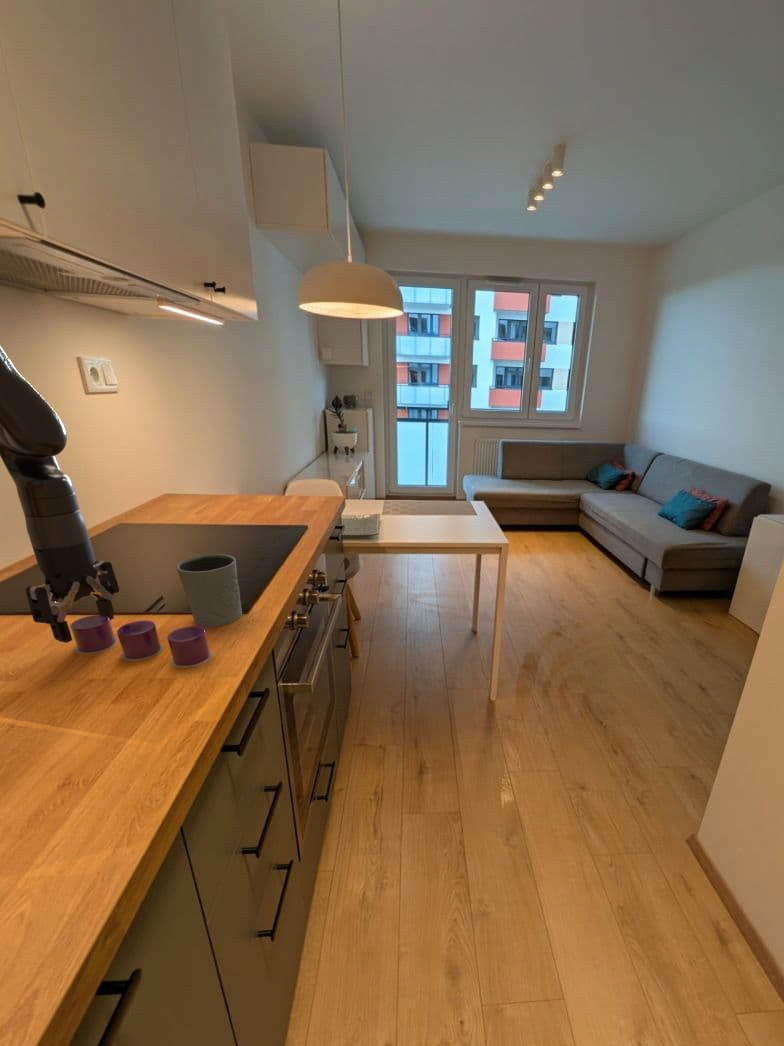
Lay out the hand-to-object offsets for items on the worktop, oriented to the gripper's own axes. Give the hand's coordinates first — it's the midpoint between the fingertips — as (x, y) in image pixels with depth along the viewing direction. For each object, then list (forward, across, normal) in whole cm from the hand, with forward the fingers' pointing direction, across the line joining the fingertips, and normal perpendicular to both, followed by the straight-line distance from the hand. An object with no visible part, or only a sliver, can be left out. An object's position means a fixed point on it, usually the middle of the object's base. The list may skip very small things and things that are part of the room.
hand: (87, 629), depth 87 cm
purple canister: (+3, 0, +20) cm, 20 cm away
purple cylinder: (+3, 0, +1) cm, 3 cm away
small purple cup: (+3, 0, +10) cm, 10 cm away
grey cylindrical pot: (+4, -15, +14) cm, 21 cm away
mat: (+4, 0, +10) cm, 11 cm away
